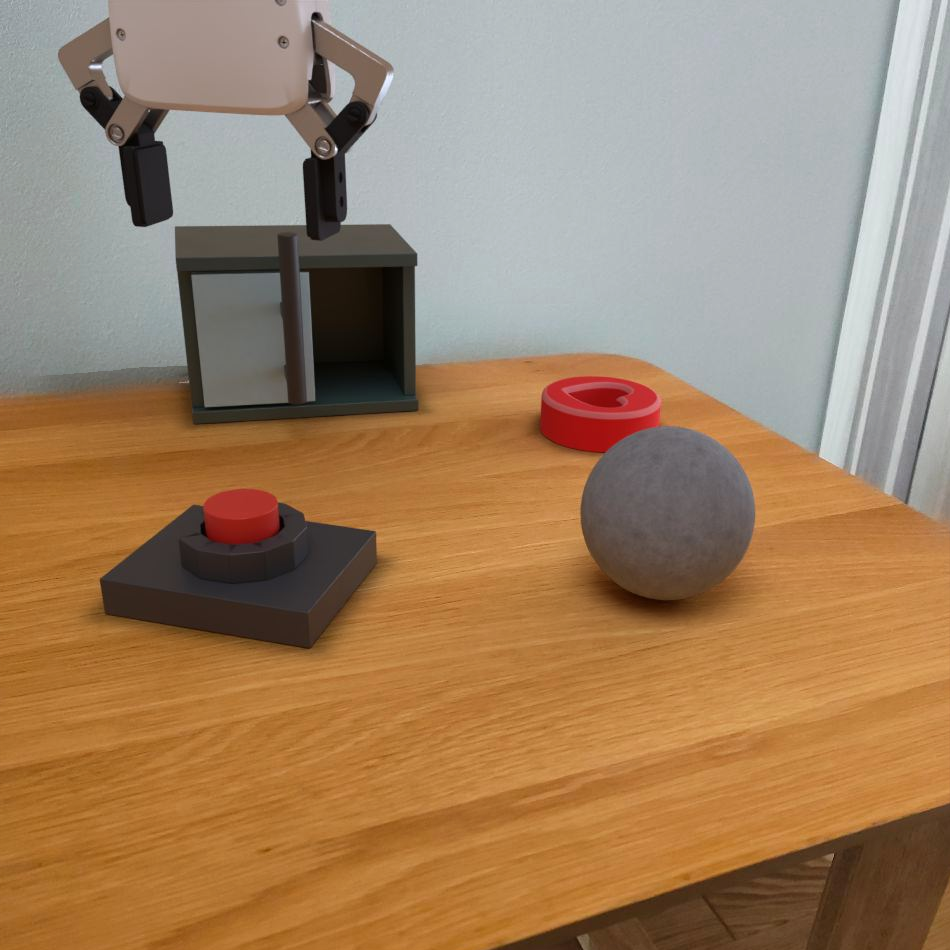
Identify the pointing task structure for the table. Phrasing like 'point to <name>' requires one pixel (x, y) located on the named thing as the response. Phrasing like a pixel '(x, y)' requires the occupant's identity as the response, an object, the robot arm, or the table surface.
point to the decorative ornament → (596, 411)
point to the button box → (243, 578)
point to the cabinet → (320, 314)
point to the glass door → (256, 333)
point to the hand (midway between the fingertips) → (238, 229)
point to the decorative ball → (667, 513)
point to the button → (241, 516)
